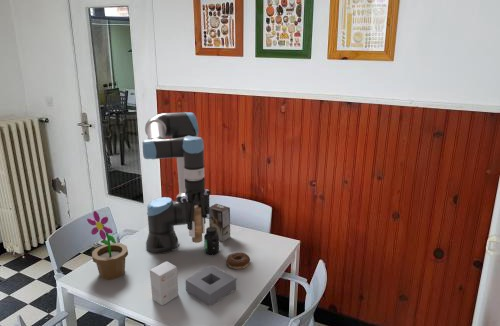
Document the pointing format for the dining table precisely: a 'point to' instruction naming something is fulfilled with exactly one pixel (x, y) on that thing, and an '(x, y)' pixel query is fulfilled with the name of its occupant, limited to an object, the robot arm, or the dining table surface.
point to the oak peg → (197, 224)
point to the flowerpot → (108, 251)
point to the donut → (238, 260)
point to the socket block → (210, 285)
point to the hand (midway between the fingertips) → (197, 234)
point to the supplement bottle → (211, 241)
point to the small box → (164, 282)
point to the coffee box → (220, 220)
